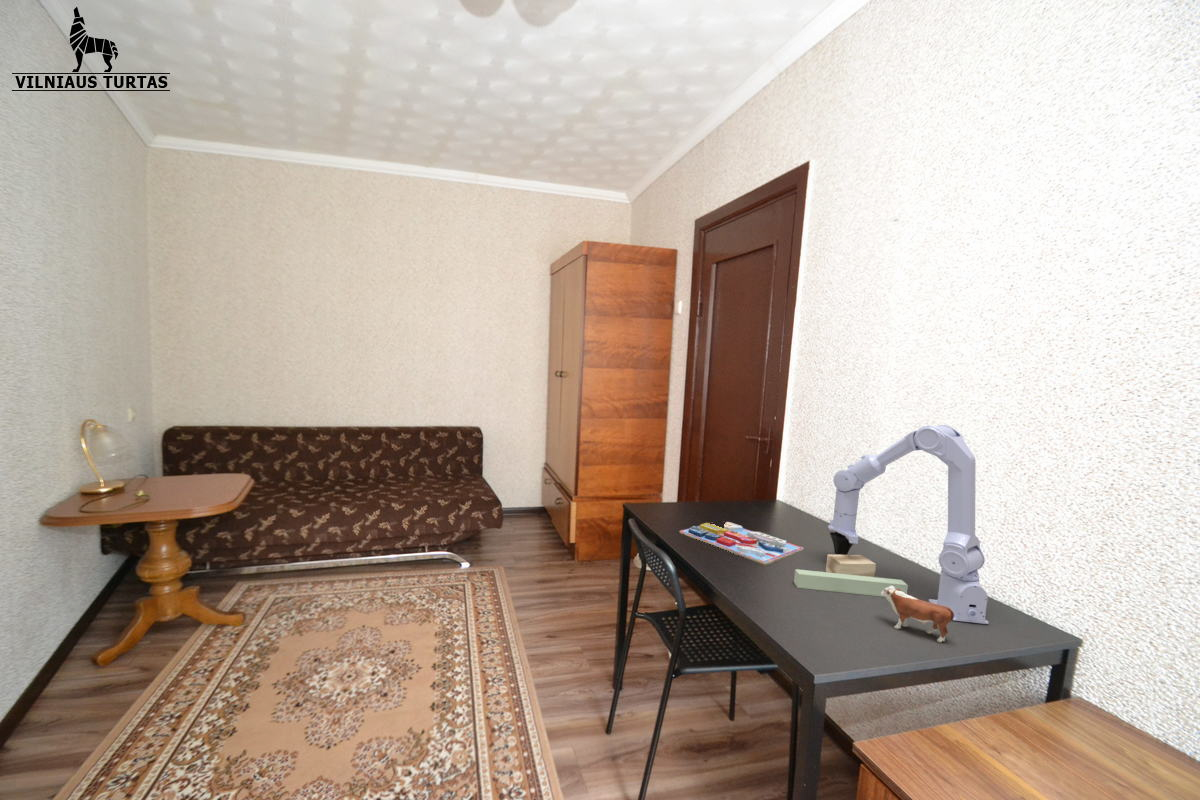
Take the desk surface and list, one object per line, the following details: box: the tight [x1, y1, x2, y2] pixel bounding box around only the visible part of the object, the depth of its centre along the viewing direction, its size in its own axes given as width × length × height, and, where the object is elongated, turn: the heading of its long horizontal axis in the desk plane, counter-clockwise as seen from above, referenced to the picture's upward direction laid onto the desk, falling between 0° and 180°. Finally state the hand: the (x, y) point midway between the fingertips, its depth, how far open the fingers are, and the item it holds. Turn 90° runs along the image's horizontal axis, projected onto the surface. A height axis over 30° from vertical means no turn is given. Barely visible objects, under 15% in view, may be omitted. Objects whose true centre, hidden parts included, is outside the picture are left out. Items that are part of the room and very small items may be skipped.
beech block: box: [825, 554, 877, 577], centre depth 133 cm, size 6×10×5 cm, turn 98°
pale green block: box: [793, 568, 909, 598], centre depth 123 cm, size 3×26×4 cm, turn 85°
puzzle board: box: [678, 521, 805, 567], centre depth 155 cm, size 30×23×3 cm
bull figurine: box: [881, 586, 954, 644], centre depth 105 cm, size 4×13×8 cm, turn 51°
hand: (840, 559), depth 139 cm, fingers closed
